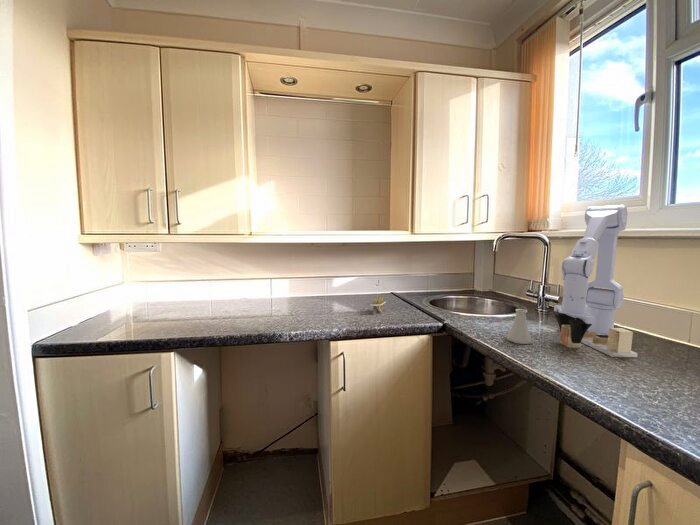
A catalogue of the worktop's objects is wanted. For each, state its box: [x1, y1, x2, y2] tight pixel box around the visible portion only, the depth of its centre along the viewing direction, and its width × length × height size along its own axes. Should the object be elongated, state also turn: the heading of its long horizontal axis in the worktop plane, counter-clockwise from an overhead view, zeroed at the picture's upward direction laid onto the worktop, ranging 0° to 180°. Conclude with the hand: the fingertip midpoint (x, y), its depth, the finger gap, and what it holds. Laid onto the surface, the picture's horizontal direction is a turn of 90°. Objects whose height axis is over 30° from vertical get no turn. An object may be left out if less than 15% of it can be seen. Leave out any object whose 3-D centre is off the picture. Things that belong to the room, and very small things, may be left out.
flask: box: [506, 308, 533, 345], centre depth 96 cm, size 7×7×10 cm
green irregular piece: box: [370, 296, 386, 316], centre depth 127 cm, size 12×18×7 cm, turn 155°
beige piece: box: [581, 327, 639, 358], centre depth 92 cm, size 15×7×7 cm, turn 179°
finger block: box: [559, 325, 582, 349], centre depth 93 cm, size 4×4×6 cm
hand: (570, 340), depth 93 cm, fingers open, 4 cm apart
